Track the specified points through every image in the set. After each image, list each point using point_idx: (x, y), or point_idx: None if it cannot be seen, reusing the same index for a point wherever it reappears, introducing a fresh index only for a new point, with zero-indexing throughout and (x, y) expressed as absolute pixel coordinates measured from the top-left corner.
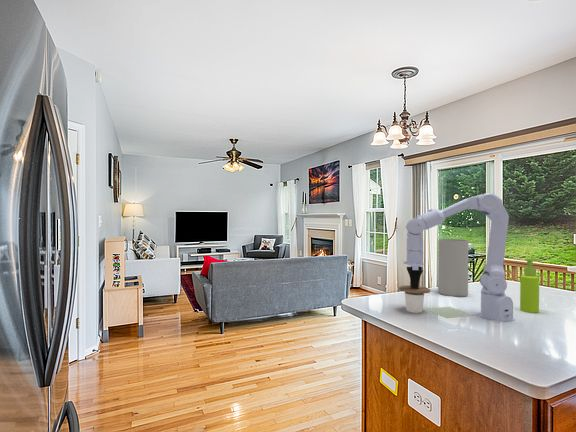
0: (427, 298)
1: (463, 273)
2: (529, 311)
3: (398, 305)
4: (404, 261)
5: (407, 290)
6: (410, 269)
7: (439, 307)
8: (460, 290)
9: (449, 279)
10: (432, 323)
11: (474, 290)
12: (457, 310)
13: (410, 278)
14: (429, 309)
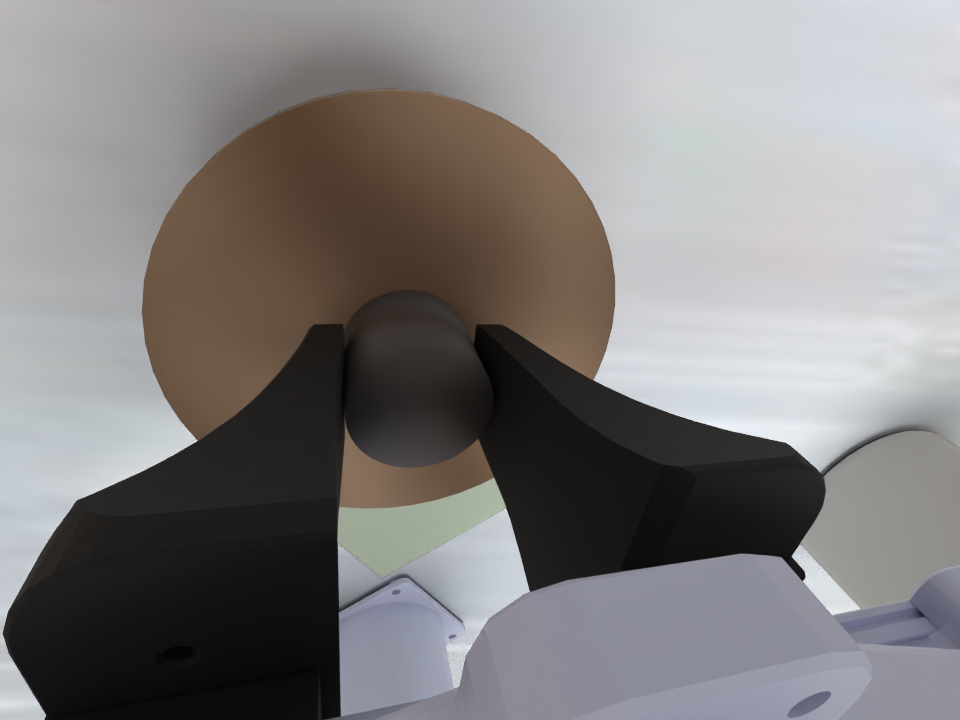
0: (794, 361)
1: None
2: None
3: (580, 91)
4: (842, 695)
5: (178, 235)
6: (30, 659)
7: None
8: (822, 551)
9: (920, 566)
10: (6, 357)
11: None
12: (470, 512)
13: (254, 402)
14: None
